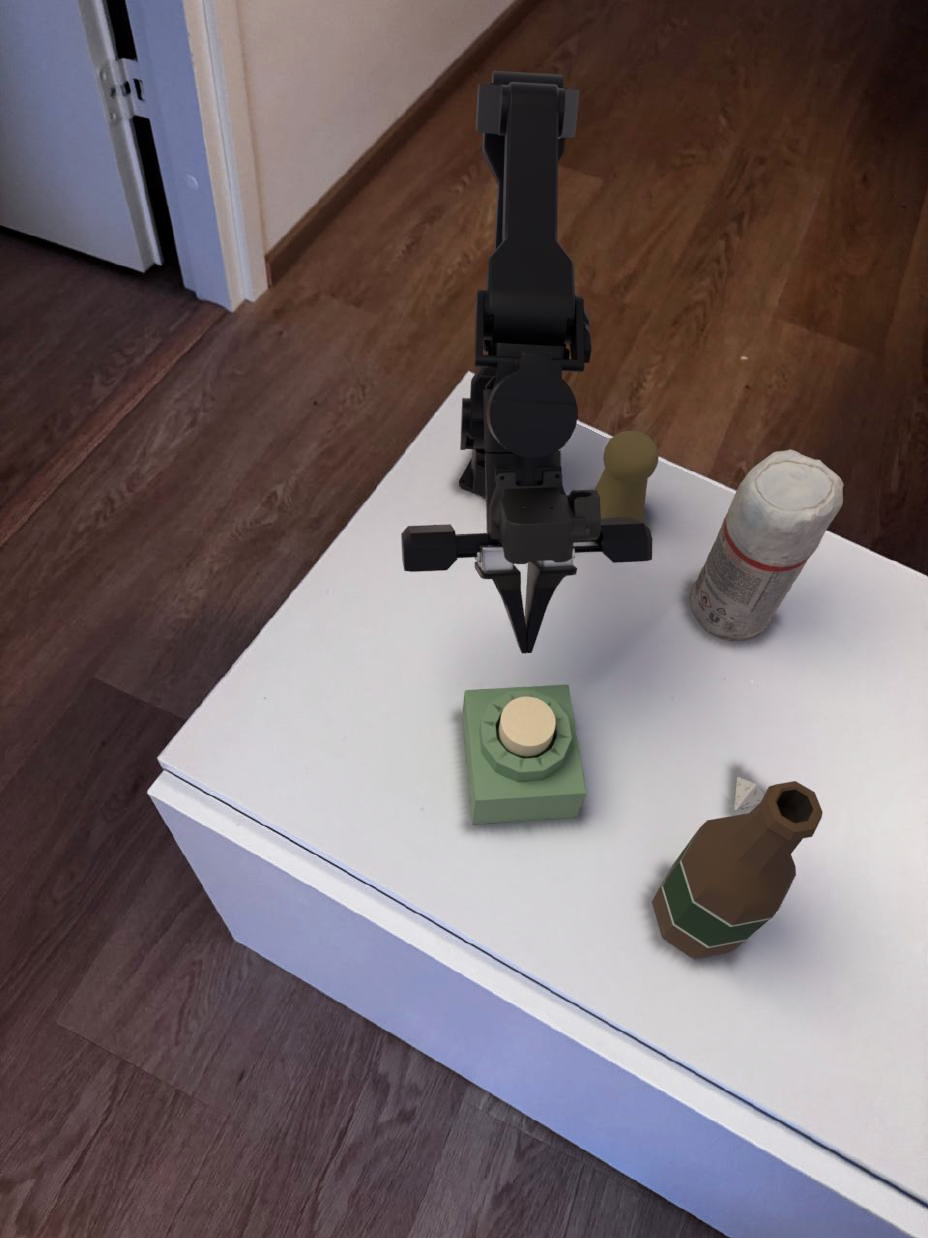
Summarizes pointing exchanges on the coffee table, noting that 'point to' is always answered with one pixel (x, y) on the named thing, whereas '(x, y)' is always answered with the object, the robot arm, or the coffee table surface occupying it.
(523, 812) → the green button housing
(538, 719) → the beige push button
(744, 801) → the white speckled wedge
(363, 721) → the coffee table surface
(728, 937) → the beer bottle
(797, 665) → the coffee table surface
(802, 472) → the spray can
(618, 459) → the olive game pawn
